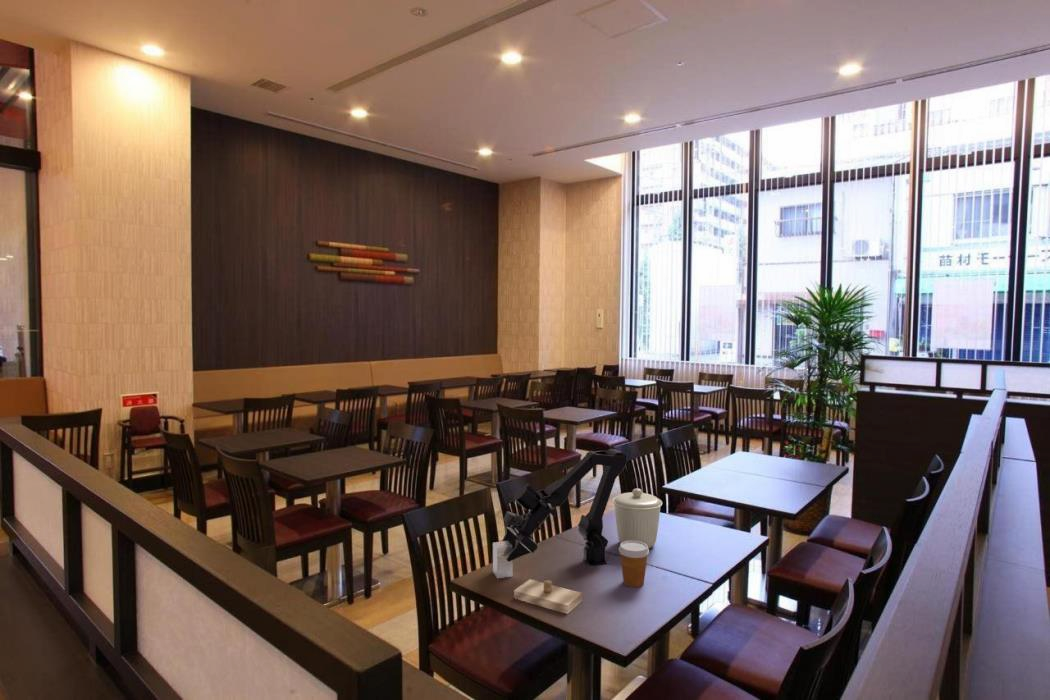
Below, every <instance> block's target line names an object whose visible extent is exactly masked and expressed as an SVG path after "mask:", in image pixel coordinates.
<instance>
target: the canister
mask: <svg viewBox="0 0 1050 700" xmlns="http://www.w3.org/2000/svg"><path fill="white" fill-rule="evenodd" d="M612 503H613V505H614V513H615V516H614V517H615V524H616V532H617V538H618V542H619V543H620V544H621V543H622V542H625V541H639V542H643V543H645V544H646V545H647V546H648V549H651V548H652V547H654V546H655V544H656V542H657V537H658V529H659V523H660V514H661V507H662V505H663V501H662V500H661V499H660V498H658V497H657V496H655V495H653V494H650V493H645V492H643V491H642V489H641V488H634V489H632V492H631V491H630V492H623V493H619V494H618V495H617V496H615V497H613V498H612Z"/></svg>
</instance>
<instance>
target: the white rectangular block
mask: <svg viewBox="0 0 1050 700" xmlns="http://www.w3.org/2000/svg"><path fill="white" fill-rule="evenodd" d="M513 548H514V546H513V544H510V543H509V541H502V540H501V541H496V542H492V573H493V575H494V576H495V577H496V578H497V580H498V579H499V578H500V579H505V577H506V578H512V577H514V573H513V571H514V570H513V569H514V567H513V566H514V565H513V564H514V562H513V561H514V560H512V561H510V562H508V561H507V560H506V559H507V557H508V556H509V554H510V553H511V551H512V550H513Z"/></svg>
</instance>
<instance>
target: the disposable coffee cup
mask: <svg viewBox="0 0 1050 700" xmlns="http://www.w3.org/2000/svg"><path fill="white" fill-rule="evenodd" d="M649 549H650V548H649ZM649 549H648V546H647V545H646V544H645V543H643V542H639V541H625V542H622V543H620V545H619V547H618V551H619V553H620V562H621V563H620V564H621V570H622V581H623V584H624V585H625V586H628V587H630V588H631V587H632V588H640V587H642V586H644V585H645V578H646V570H647V564H648V563H647V561H648V555H649V553H650V550H649Z"/></svg>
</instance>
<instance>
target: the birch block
mask: <svg viewBox="0 0 1050 700" xmlns="http://www.w3.org/2000/svg"><path fill="white" fill-rule="evenodd" d="M513 593H514V595H513V599H514V598H515V599H514V600H517V599H518V601H522V602H524V601H525V602H524V603H529V604H532V605H536V606H539V607H542V608H545V609H549V610H552V611H555V612H558V613H559V612H560V613H562V614H566V615H568V614H569V613H571V612H572V611H573V610H574V609H575V608H576V607H577V606H578V605H579V604H581V602H583V601H582V600H583V596H582V593H583V592H581V591H577V590H576V591H575V590H571V589H568V588H565V587H560V586H557V585H553V581H552V580H550V579H547V580H544V581H543V582H541V581H538V580H536V579H535V580H534V579H531V578H530V579H528V580H527V581H525V582H524V583H522V584H521V585H519V586H518V587H516V589H514V591H513Z"/></svg>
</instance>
